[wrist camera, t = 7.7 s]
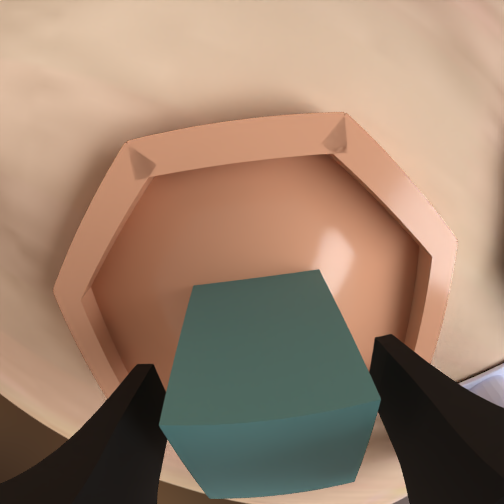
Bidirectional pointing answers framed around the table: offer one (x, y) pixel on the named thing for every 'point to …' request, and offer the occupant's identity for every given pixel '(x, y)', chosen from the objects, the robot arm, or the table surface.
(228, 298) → the teal block
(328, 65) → the table surface
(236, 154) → the terracotta dish
